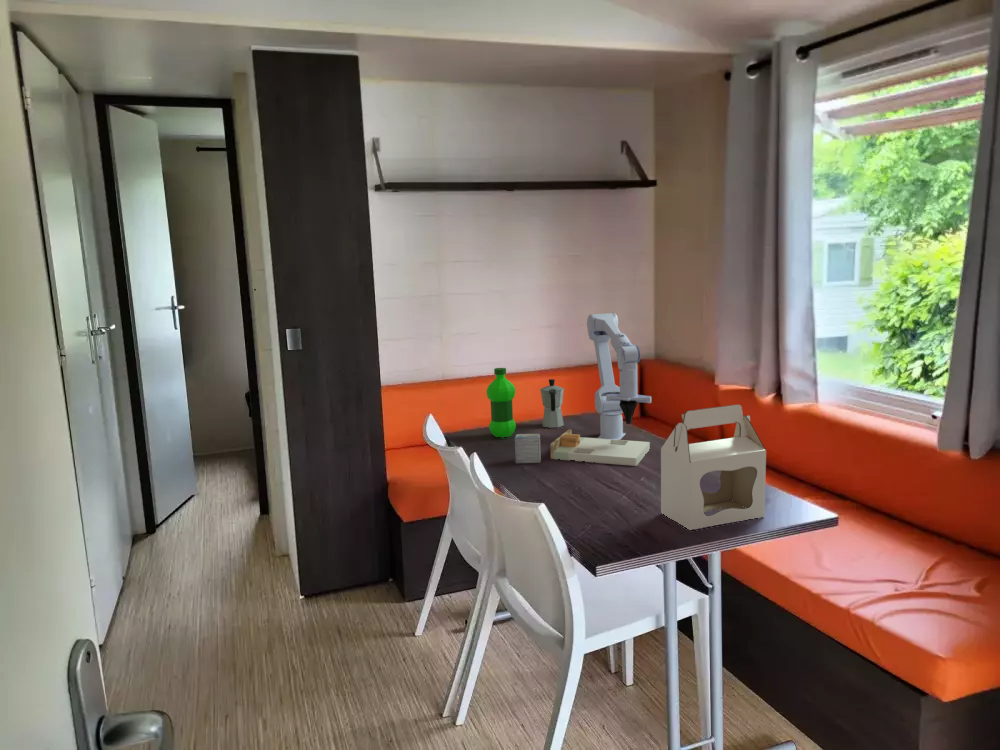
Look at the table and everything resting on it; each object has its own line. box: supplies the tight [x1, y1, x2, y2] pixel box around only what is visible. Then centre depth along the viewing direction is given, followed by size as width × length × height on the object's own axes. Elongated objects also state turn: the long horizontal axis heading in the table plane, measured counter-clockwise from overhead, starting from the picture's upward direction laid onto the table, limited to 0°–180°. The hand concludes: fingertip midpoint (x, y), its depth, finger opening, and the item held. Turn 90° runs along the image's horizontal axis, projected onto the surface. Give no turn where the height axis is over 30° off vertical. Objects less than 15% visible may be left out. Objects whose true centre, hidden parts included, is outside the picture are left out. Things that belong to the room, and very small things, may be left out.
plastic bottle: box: [486, 367, 517, 438], centre depth 271 cm, size 10×10×25 cm
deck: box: [549, 429, 651, 467], centre depth 246 cm, size 19×28×5 cm
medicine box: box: [514, 433, 542, 464], centre depth 241 cm, size 8×4×9 cm, turn 84°
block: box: [561, 433, 581, 447], centre depth 250 cm, size 5×5×3 cm
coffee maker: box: [540, 378, 565, 428], centre depth 283 cm, size 15×9×18 cm, turn 178°
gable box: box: [660, 403, 767, 530], centre depth 188 cm, size 22×13×28 cm, turn 109°
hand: (628, 423), depth 247 cm, fingers closed
